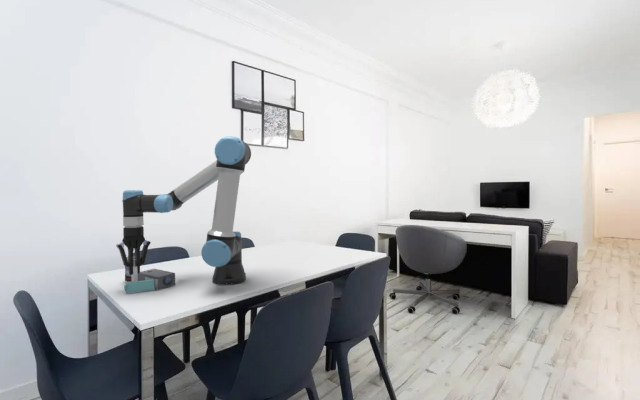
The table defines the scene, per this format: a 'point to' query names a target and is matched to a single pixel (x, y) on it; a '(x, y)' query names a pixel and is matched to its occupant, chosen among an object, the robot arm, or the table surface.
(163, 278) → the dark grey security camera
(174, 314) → the table surface
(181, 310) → the table surface
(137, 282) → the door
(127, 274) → the beverage can
